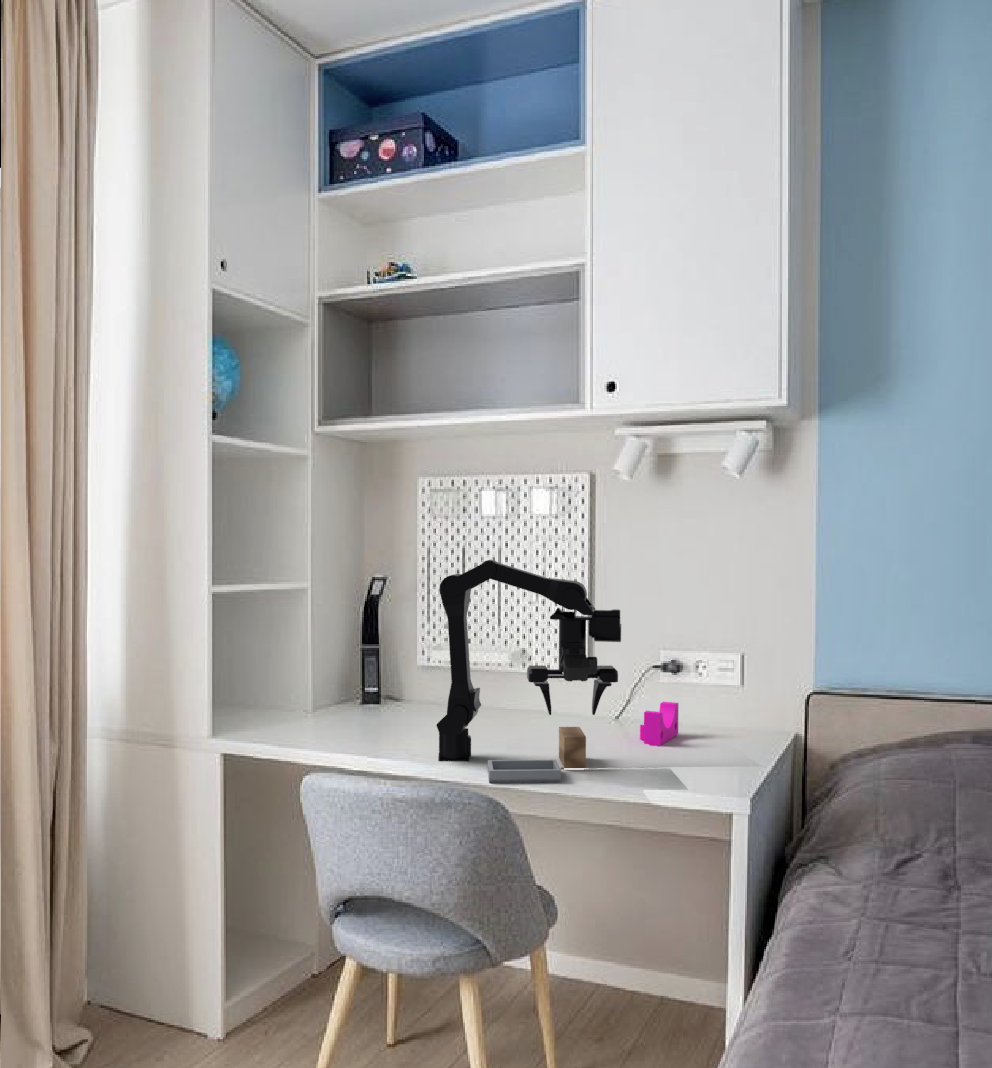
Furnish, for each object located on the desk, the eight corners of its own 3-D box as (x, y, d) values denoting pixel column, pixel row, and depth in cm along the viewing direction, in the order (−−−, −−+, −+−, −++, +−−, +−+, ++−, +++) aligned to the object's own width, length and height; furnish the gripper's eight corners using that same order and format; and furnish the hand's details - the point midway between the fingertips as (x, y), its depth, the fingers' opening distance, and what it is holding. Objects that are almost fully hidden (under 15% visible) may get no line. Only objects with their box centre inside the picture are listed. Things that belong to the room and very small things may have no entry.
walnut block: (564, 770, 202) (564, 737, 202) (558, 759, 212) (558, 726, 212) (585, 770, 202) (585, 736, 202) (579, 758, 212) (579, 726, 212)
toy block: (653, 731, 241) (653, 700, 241) (678, 733, 238) (678, 702, 238) (633, 743, 228) (633, 711, 228) (659, 746, 225) (659, 713, 225)
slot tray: (489, 783, 192) (489, 770, 192) (487, 771, 201) (487, 760, 201) (560, 782, 193) (560, 770, 193) (556, 771, 201) (556, 759, 201)
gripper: (531, 645, 198) (530, 722, 199) (623, 645, 199) (622, 722, 200) (527, 639, 210) (526, 711, 210) (613, 639, 210) (613, 711, 211)
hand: (571, 714), depth 207 cm, fingers open, 9 cm apart
